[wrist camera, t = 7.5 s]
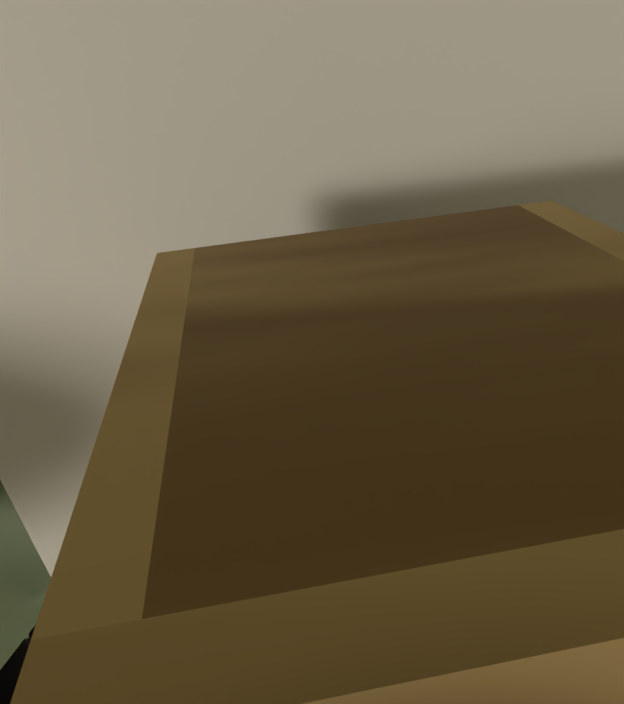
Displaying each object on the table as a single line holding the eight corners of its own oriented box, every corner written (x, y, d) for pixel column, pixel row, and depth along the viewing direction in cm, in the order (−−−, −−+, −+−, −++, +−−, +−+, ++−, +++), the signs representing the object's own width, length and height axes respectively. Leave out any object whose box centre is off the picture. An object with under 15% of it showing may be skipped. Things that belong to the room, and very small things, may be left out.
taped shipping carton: (511, 486, 12) (789, 906, 6) (227, 536, 12) (231, 1048, 6) (551, 200, 9) (1232, 513, 3) (156, 253, 8) (-11, 767, 2)
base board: (600, 459, 18) (764, 639, 13) (71, 551, 17) (-3, 797, 11) (740, -95, 11) (1293, -247, 5) (-197, -14, 9) (-820, -105, 4)
